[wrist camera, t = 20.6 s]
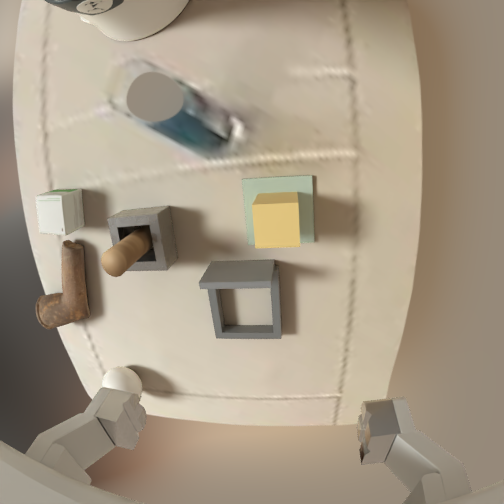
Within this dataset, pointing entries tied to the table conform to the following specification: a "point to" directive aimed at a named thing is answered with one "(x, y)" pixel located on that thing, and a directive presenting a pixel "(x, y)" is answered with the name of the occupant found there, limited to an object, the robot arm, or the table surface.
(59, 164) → the table surface
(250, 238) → the pad
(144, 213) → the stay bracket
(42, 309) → the pipe
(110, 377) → the white ovoid
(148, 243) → the rod
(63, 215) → the small box
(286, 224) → the block
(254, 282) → the case
